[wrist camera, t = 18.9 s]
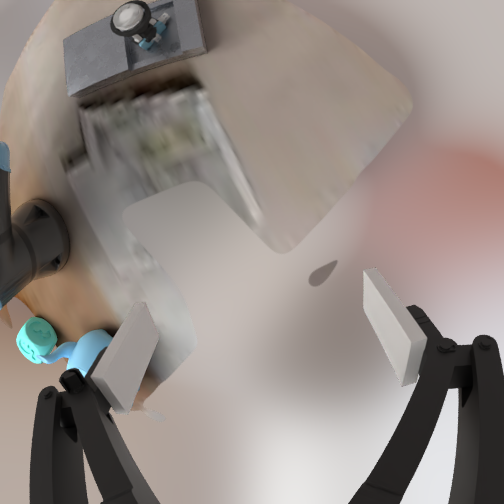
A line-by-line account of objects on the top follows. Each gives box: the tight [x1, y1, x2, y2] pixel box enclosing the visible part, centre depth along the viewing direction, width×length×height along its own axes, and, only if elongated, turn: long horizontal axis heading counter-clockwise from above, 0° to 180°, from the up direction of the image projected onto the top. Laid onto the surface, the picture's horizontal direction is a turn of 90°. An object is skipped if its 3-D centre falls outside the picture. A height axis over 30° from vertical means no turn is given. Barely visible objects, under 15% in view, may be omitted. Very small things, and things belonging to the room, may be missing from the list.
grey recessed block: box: [63, 0, 207, 98], centre depth 32 cm, size 22×11×4 cm, turn 100°
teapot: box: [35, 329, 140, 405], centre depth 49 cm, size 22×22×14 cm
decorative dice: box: [17, 317, 57, 363], centre depth 52 cm, size 8×8×8 cm
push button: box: [110, 0, 170, 50], centre depth 27 cm, size 7×5×10 cm
